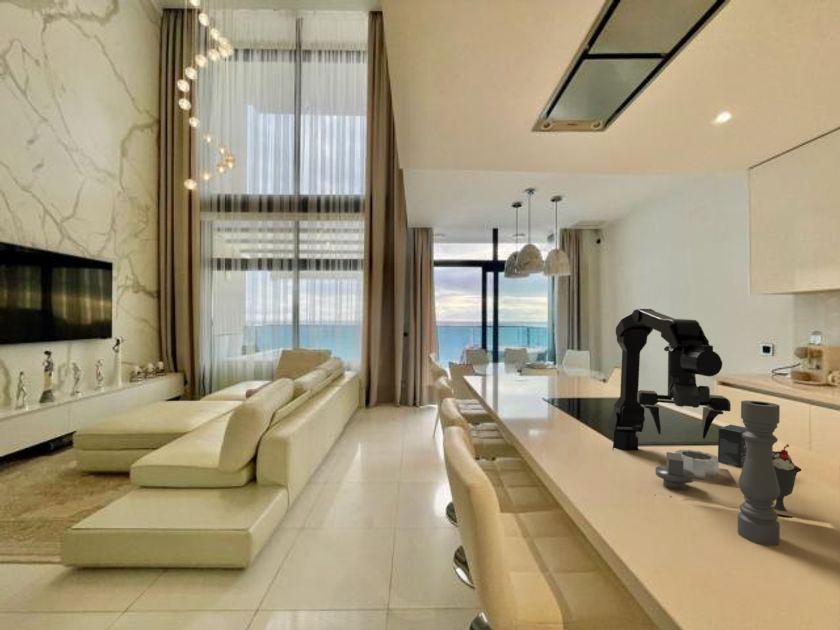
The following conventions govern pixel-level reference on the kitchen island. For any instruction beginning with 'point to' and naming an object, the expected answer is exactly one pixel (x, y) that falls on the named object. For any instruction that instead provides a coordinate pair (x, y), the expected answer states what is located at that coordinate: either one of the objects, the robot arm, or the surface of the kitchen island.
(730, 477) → the stand
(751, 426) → the candle holder
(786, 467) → the sundae
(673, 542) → the kitchen island surface
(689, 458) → the toothed hollow cylinder
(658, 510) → the kitchen island surface
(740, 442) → the box
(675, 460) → the lens cap
